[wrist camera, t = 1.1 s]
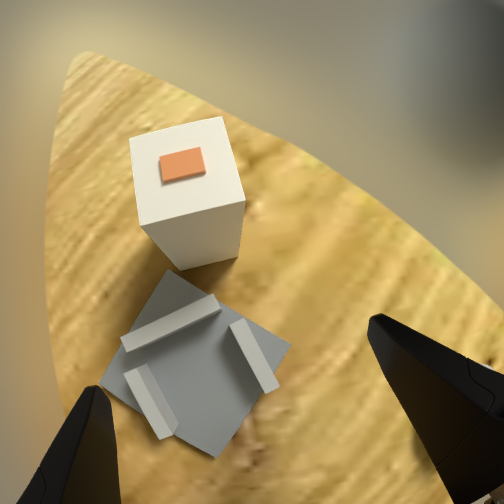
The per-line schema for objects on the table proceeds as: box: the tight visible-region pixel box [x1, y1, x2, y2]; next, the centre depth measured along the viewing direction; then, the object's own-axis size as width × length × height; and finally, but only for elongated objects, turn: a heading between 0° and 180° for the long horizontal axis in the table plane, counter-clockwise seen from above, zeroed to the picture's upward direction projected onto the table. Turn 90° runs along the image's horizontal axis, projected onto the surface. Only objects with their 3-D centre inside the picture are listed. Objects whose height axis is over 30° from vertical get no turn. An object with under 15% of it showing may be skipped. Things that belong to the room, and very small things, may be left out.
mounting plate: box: [99, 269, 291, 458], centre depth 19 cm, size 10×10×4 cm
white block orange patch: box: [129, 116, 246, 271], centre depth 18 cm, size 4×4×11 cm
